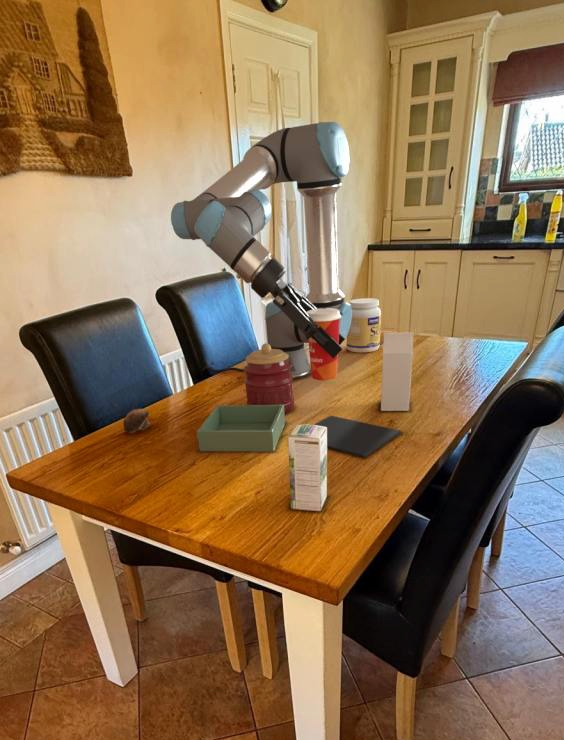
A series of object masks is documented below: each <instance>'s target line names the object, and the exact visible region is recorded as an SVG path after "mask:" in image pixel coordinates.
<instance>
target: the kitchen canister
mask: <svg viewBox="0 0 564 740" xmlns="http://www.w3.org/2000/svg"><path fill="white" fill-rule="evenodd" d="M260 348H261V349H257V350H254V351H252V352H250V353H249V355H247V356H246V357H245V362H247V363H246V364H245V365H244V366H243V367H242V369H243V370H244V371H245V372H244V373H245V378H244V385H245V394H246V405H284V412H285V414H288V413H290V412H291V411H293V410H294V405H295V398H294V388H293V380H292V379H293V376H292V375H291V371H290V369H291V367H292V363H291V362H289V361H288V360H287V359H288V357H289V356H288V354H286V353H284V352H283V351H282V350H279V349H271V346H270V344H268V343H267V342H265V343H263V344H262V345H261V347H260Z"/></svg>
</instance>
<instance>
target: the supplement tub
mask: <svg viewBox="0 0 564 740" xmlns="http://www.w3.org/2000/svg"><path fill="white" fill-rule="evenodd" d="M348 303H349V304H350V305H351V309H352V319H351V325H350V329H349V332H348V334H347V336H346V344H345V345H346V349H347V350H348V351H349V352H352V353H356V354H357V353H358V354H359V353H360V354H361V353H362V354H363V353H365V354H366V353H372V352H376V351H377V350H378V349H379V348H380V347H381V346H380V345H381V323H382V322H381V320H382V311H381V308H380V307H379V306H380V299H378V298H373V297H372V298H370V297H364V298H356V299H355V298H354V299H351V300H349V301H348Z"/></svg>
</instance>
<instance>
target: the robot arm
mask: <svg viewBox="0 0 564 740" xmlns="http://www.w3.org/2000/svg"><path fill="white" fill-rule="evenodd" d="M349 165H350V148H349V142H348V139H347V136H346V133H345V131H344V129H343V127H342V125H340V124H339V123H338V122H336V121H320V122H315V123H309V124H303V125H298V126H292V127H284V128H281V129H278V130H276V131H273V132H272V133H270V134H268V135H266V136H265V137H264V138H262V139H261V140H259V141H258V142H256V143H255V144H254V145H252V146H251V147H250V148H248V149H247V151H246V152H245V153H244V155H243V158H242V160H241V161H240V162H238V163H237V164H236V165H235V166H234V167H232V168H231V169H230V170H229V171H227V172H226V173H225V174H224V175H223V176H221V177H220V178H219V179H217V180H216V181H215V182H214V183H212V184H211V185H210V186H209V187H208V188H206V189H205V190H204V191H202V192H201V193H200V194H198V196H196V197H195V198H193V199H192V200H183V201H179V202H176V203H175V204H174V205H173V207H172V209H171V212H170V222H171V226H172V230H173V231H174V233H175V235H176V236H177V237H178V238H180V239H182V240H191V241H196V240H201V241H202V242H203V243H204V245H205V246H206V247H207V248H209V249H210V250H211V251H212V252H213V253H214V254H215V255H216V256H217V257H219V258H220V259H221V260H222V261H223V262H224V263H225V264H226V265H227V266H228V267H229V268H230V269H231V270H232V271H234V273H235V274H236V279H238V280H239V279H242V281H243V282H245V283H246V284H250V288H251V290H252V291H253V292H254V293H255V294H257V296H259V298H261V299H265V298H266V297H267V296H268V294H269V293H270V295H271V296H272V297H273V300H272V301H269V302H268V303H267V304H266V305H265V311H264V312H265V318H264V320H265V327H266V328H265V329H266V340H267V342H266V343H268V344H270V346H271V349H279V350H282V351H283V352H284V353H286V354H288V356H289V357H288V359H287V360H288V361H289V362H291V363H292V367H291V369H290V371H291V375H292V376H293V379H292V381H297V380H301V379H304V378H307V377H308V376H310V375H311V365H310V358H309V357H308V356H307V353H306V350H305V344H309V343H308V339H309V338H310V337H312V338H313V339H314V340H315V341H316V342H317V343H318V344H319V345H320V346H321V347H322V348H323V349H324V350H325V351H326V352H327V353H328V354H329V355H330V356H331V357H332V358H333V359H334V358H335V357H336V356H337V355H338V356H339V354H340V353H341V352H342V350H343V349H344V348H343V347H342V346H341V344H342V343H343V342H344V341H346V339H347V334H348V332H349V329H350V325H351V319H352V309H351V305H350V304H349V302H346V301H345V294H344V293H343V292H342V291H341V290H340V285H339V284H340V283H339V251H338V250H339V249H338V245H339V244H338V217H337V192H338V190H339V189H340V188H341V187H342V183H343V182H342V179H343V178H344V177H345V176H347V174H348V172H349V169H350V166H349ZM294 182H296V188H297V189H296V190H297V191H298V193H299V194H300V195H301V196H302V197H303V212H304V213H303V214H304V227H305V242H306V243H305V244H306V245H305V246H306V261H307V277H308V278H307V279H308V293H307V294H306V295H305V296H304V295H303V294H302V293H301V292H300V291H299V290H298V289H297V288H296V287H295V286H294V285H293V283H292V282H288V283H287V282H285V281H284V280H283V279H282V278H283V276H284V275H285V274H286V271H287V269H286V267H285V266H284V265H283V264H282V263H281V262H279V260H278V259H276V257H272V253H271V251H269V250H268V249H267V248H266V247H265V246H264V245H263V244H262V243H261V242H260V241H259V240H258V239H257V238H256V237H255V236H256V235H258V233H260V231H262V230H264V228H265V226H266V225H267V224H268V223H269V221H270V219H271V218H272V217H271V216H272V205H271V202H270V200H269V198H268V196H267V195H266V194H265V193H264V192H263V191H261V190H266V189H269V188H270V187H271V186H272V185H275V184H281V183H294ZM321 308H323V309H326V308H335V309H338V310H339V312H340V315H341V318H340V325H339V344H338V343H337V342H336V341H335V340H334V339H333V338H332V337H331V336H330V335H329V334H328V333H327V332H326V331H325V330H324V329H323V328H322V327H321V326H320V327H318V325H317V324H316V323H315V322H314V321H313V320H312V318H311V317H310V316H309V315H308V314H307V311H309V310H313V309H321ZM206 370H208V371H210V372H212V373H215V374H216V373H217V374H219V373H225V372H230V371H235V372H239V373H246V372H245V371H244V370H243V368H238V367H232V366H231V367H225V368H220V369H215V368H212V367H210V366H208V365H207V366H204V367H202V368H201V372H205V371H206Z"/></svg>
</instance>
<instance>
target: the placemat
mask: <svg viewBox="0 0 564 740" xmlns="http://www.w3.org/2000/svg"><path fill="white" fill-rule="evenodd" d="M313 425H318V426H324V427H327V449H330V450H332V451H337V452H340V453H344V454H348V455H352V456H356V457H359V458H363V459H365V458H366V457H367V456H370V454H372V453H374V452H375V451H376V450H378V449H380V448H381V447H382V446H384V445H385V444H387V443H388V442H390V441H391V440H393V439H395V438H396V437H397V436H399V435H400V434H401V430H398V429H394V428H389V427H385V426H380V425H376V424H372V423H366V422H363V421H357V420H353V419H348V418H344V417H339V416H334V415H330V416H328V417H325V418H323V419H322V420H320V421H318V422H317V423H314V424H313Z"/></svg>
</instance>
